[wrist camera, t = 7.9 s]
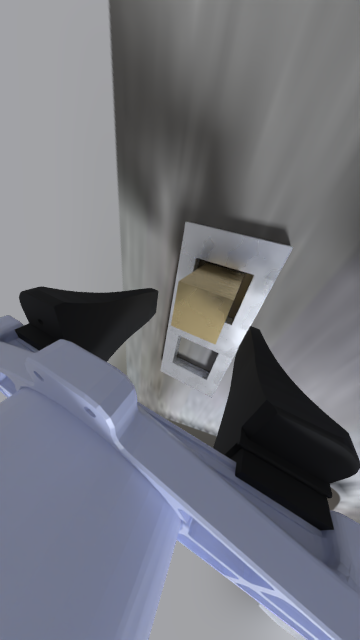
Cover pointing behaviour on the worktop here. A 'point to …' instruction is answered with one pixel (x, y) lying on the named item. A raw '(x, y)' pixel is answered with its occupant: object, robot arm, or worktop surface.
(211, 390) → the silver plate with holes
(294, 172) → the worktop surface
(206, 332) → the brass peg
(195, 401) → the worktop surface
